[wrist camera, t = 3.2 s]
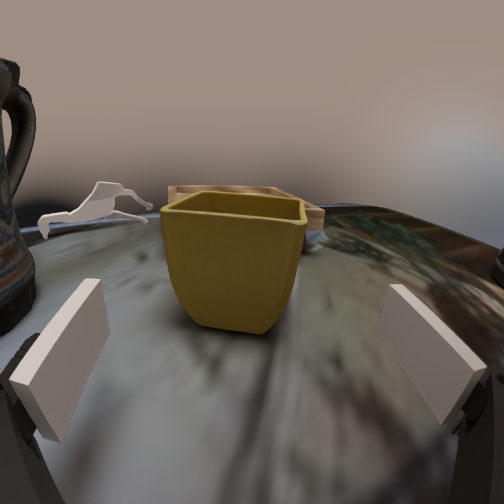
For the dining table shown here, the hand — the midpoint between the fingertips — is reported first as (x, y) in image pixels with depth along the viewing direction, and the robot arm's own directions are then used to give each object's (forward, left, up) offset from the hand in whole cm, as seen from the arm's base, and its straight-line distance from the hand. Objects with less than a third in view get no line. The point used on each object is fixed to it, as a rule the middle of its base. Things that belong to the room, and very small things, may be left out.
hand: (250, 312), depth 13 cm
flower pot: (-2, -9, -6) cm, 11 cm away
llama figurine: (+15, -35, -6) cm, 39 cm away
